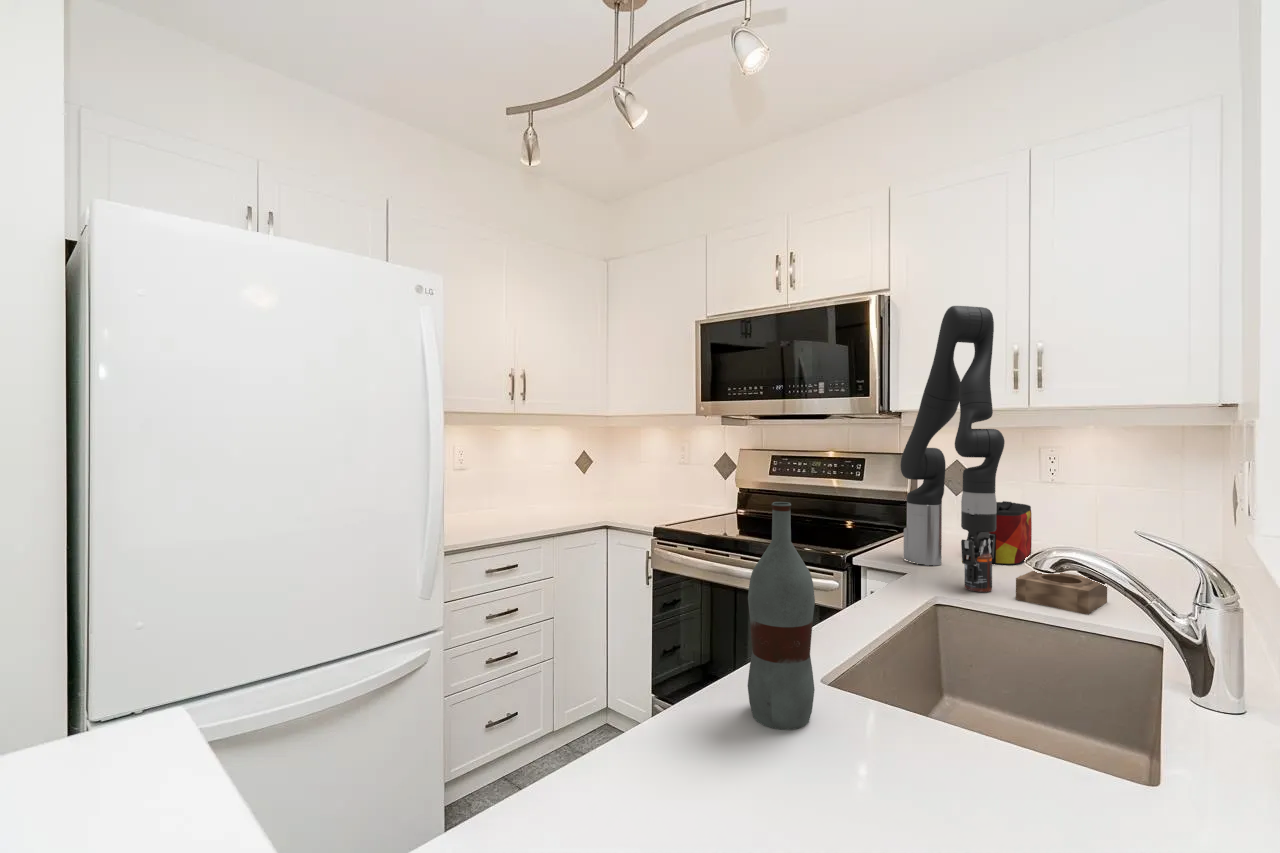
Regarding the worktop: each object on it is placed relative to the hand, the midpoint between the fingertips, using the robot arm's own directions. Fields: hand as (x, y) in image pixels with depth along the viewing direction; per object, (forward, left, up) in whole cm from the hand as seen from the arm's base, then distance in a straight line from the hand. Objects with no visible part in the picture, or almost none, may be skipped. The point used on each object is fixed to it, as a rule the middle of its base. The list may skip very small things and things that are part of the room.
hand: (978, 579), depth 151 cm
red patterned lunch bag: (-11, +43, -3) cm, 44 cm away
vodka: (+9, -89, -3) cm, 90 cm away
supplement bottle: (0, 0, -3) cm, 3 cm away
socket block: (+16, +5, -3) cm, 17 cm away
